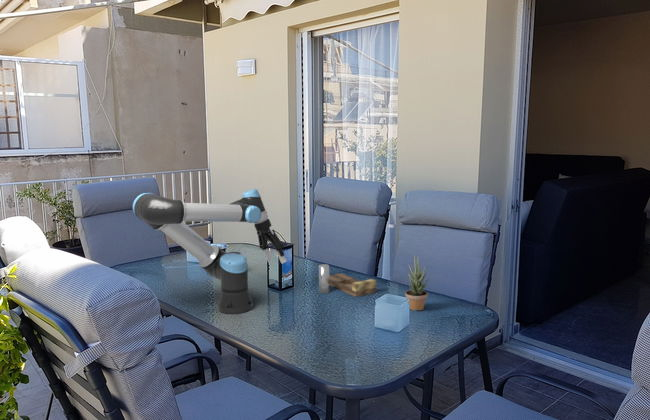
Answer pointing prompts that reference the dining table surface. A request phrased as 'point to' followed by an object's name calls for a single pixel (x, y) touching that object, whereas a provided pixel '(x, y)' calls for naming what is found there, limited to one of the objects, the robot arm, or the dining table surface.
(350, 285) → the jig bar
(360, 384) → the dining table surface
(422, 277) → the potted plant
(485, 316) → the dining table surface
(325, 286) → the steel sleeve
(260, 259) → the dining table surface
